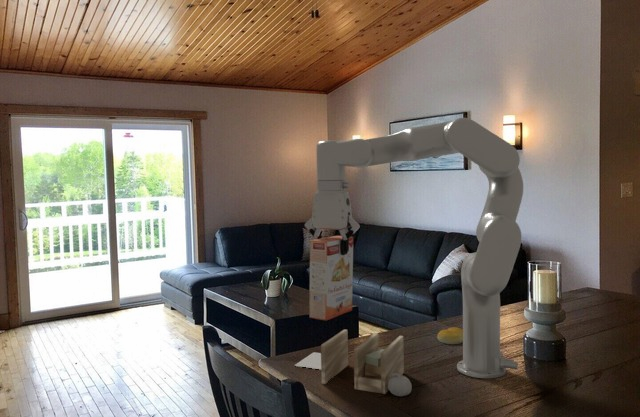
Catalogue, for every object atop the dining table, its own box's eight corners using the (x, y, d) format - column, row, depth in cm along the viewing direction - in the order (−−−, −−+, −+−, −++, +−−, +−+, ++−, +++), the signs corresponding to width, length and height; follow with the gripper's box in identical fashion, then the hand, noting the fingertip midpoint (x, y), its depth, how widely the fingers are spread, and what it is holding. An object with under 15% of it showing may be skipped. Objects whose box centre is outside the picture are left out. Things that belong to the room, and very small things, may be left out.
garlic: (383, 396, 134) (382, 374, 134) (393, 388, 139) (392, 367, 138) (406, 401, 131) (405, 379, 130) (415, 393, 135) (415, 372, 135)
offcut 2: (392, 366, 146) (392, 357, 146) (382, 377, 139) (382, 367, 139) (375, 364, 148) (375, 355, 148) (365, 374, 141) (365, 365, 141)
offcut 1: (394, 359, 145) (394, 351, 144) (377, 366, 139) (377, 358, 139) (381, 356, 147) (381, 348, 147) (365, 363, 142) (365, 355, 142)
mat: (344, 357, 162) (344, 356, 162) (326, 371, 151) (326, 370, 151) (313, 353, 166) (313, 352, 166) (294, 366, 156) (294, 365, 156)
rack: (403, 373, 149) (403, 336, 148) (385, 393, 135) (384, 353, 134) (344, 364, 156) (344, 329, 155) (321, 383, 143) (320, 345, 142)
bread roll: (432, 340, 177) (432, 328, 176) (453, 335, 181) (453, 323, 181) (450, 347, 170) (450, 334, 169) (472, 342, 174) (472, 329, 174)
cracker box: (327, 321, 144) (327, 241, 143) (308, 318, 147) (308, 239, 146) (354, 310, 156) (354, 235, 155) (335, 307, 159) (335, 234, 158)
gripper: (366, 186, 149) (367, 253, 150) (307, 186, 156) (309, 250, 158) (356, 187, 142) (357, 257, 144) (295, 187, 149) (297, 254, 151)
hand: (332, 253), depth 151 cm, fingers closed on cracker box, 6 cm apart
